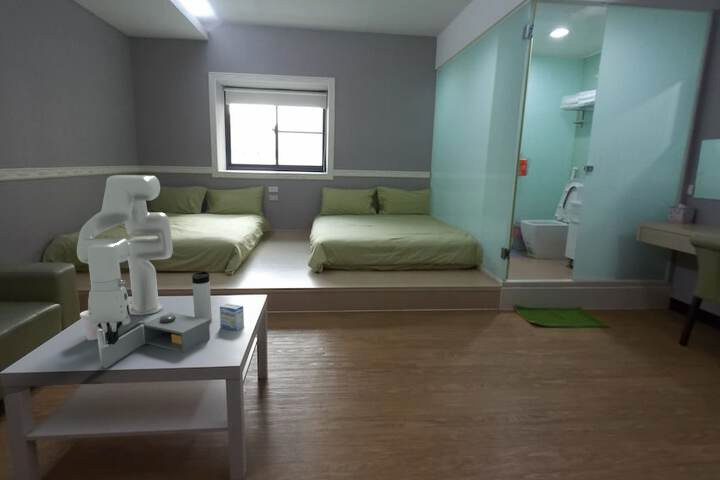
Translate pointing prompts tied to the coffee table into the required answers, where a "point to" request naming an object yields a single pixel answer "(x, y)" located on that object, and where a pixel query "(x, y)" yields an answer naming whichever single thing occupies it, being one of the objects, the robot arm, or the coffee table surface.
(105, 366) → the side door
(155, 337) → the cabinet body
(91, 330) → the smoothie
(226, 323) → the medicine box
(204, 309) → the travel mug
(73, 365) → the coffee table surface
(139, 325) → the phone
